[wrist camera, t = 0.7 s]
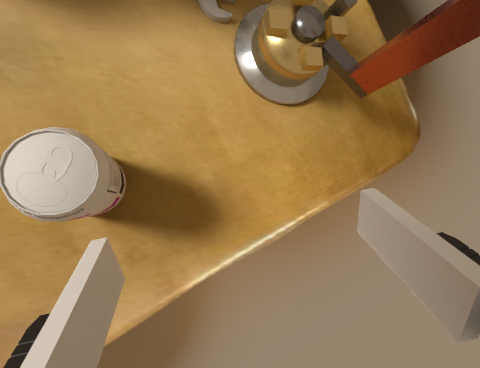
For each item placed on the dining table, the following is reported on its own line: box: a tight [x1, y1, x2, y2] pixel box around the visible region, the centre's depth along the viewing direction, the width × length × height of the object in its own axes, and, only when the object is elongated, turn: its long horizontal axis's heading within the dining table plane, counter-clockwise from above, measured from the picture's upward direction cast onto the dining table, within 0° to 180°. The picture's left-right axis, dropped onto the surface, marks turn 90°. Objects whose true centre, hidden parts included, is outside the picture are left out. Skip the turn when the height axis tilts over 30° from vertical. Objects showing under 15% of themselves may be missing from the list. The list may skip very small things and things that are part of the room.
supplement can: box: [0, 127, 126, 222], centre depth 29 cm, size 8×8×15 cm
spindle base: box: [234, 0, 357, 105], centre depth 41 cm, size 17×17×10 cm
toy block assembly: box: [251, 0, 480, 98], centre depth 34 cm, size 19×12×24 cm, turn 51°
